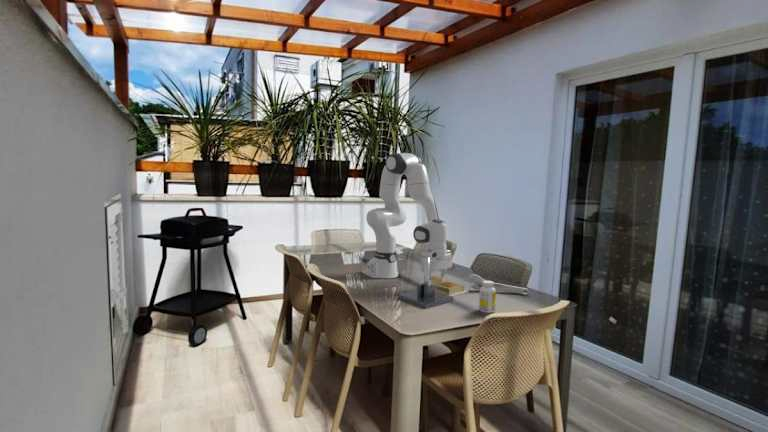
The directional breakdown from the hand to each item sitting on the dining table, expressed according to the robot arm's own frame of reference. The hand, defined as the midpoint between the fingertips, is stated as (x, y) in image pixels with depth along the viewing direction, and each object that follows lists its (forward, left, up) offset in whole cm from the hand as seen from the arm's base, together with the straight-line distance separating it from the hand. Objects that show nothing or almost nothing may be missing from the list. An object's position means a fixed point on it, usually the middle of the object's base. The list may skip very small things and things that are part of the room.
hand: (436, 278), depth 214 cm
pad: (+6, 0, -5) cm, 8 cm away
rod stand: (+10, -18, -5) cm, 21 cm away
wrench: (+23, +21, -6) cm, 31 cm away
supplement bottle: (+37, -8, -6) cm, 39 cm away
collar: (+6, 0, -4) cm, 7 cm away
